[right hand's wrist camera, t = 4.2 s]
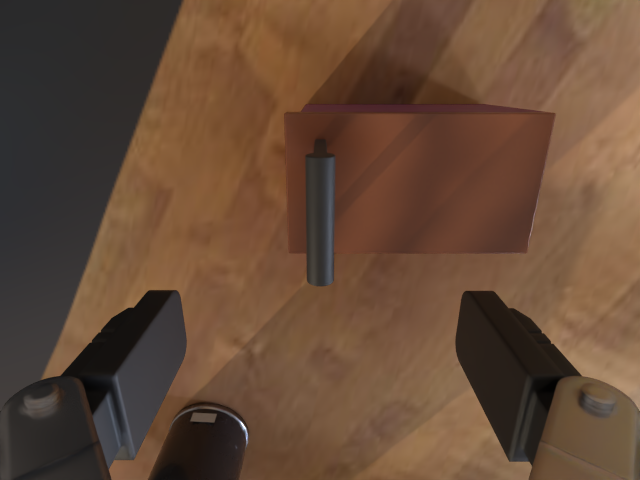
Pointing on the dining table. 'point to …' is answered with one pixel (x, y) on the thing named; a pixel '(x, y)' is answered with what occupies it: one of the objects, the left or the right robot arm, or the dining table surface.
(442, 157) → the lid
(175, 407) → the dining table surface
